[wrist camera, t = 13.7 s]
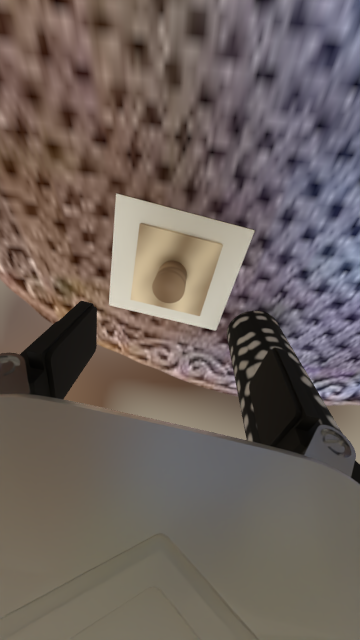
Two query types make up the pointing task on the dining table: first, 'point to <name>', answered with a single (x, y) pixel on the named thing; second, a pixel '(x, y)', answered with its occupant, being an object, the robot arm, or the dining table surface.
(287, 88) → the dining table surface
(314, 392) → the spotted tube
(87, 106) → the dining table surface
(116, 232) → the white flat block
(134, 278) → the wooden lid
